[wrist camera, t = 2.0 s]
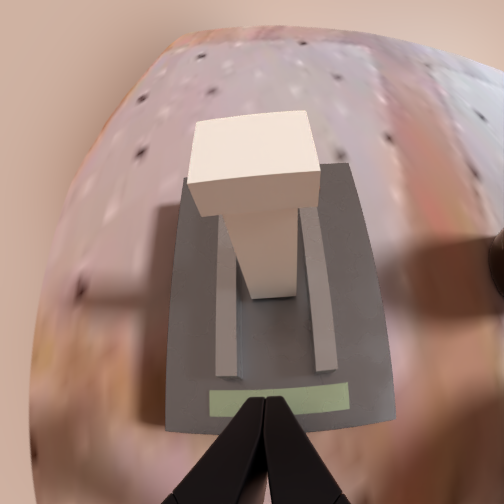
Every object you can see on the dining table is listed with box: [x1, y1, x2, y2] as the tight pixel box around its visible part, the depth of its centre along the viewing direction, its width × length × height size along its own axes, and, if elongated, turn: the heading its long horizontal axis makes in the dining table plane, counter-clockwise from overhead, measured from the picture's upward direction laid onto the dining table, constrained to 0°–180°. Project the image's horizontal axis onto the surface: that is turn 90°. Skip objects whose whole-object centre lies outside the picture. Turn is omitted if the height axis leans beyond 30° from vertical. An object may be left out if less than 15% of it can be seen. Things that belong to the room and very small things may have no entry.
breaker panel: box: [165, 163, 396, 435], centre depth 18 cm, size 17×12×5 cm
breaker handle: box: [187, 110, 321, 299], centre depth 13 cm, size 3×4×10 cm
